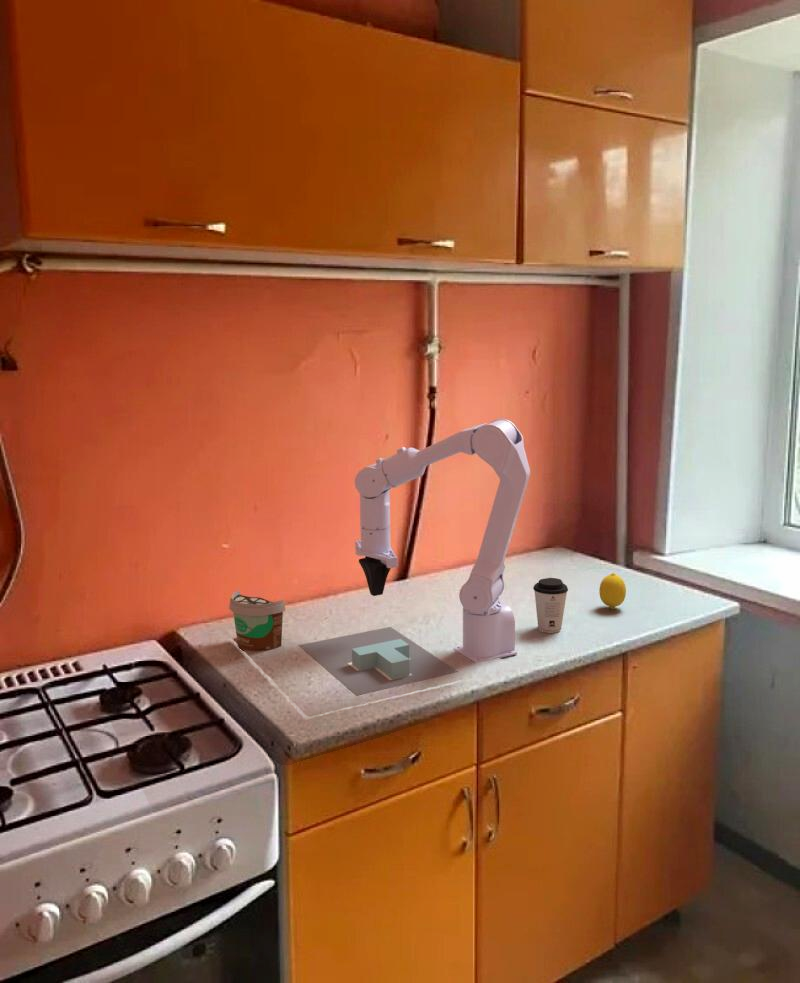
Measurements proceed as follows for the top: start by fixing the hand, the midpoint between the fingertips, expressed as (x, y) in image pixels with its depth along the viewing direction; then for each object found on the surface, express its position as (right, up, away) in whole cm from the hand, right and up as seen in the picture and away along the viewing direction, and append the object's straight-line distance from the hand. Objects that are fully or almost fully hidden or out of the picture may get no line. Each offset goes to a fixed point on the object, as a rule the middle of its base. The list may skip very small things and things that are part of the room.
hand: (376, 594), depth 173 cm
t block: (+2, -12, -13) cm, 18 cm away
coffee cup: (+35, -8, +7) cm, 36 cm away
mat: (0, -11, -8) cm, 14 cm away
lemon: (+50, -5, +18) cm, 54 cm away
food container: (-24, -11, -2) cm, 26 cm away
